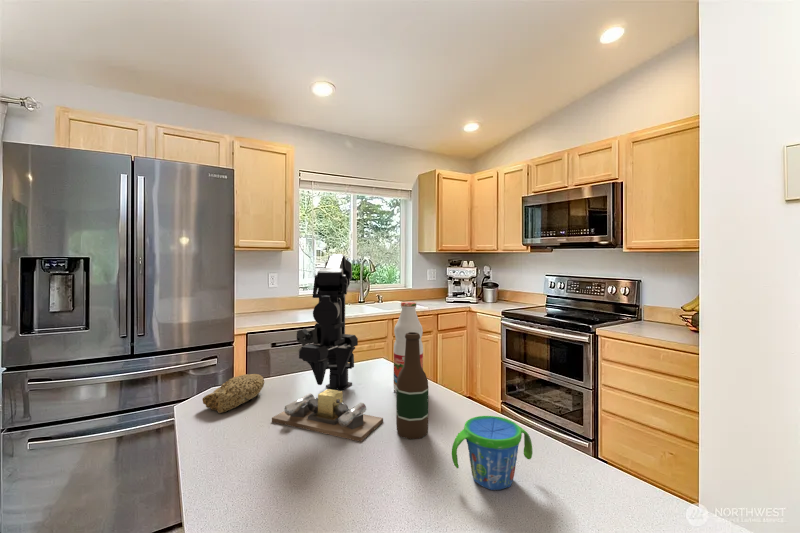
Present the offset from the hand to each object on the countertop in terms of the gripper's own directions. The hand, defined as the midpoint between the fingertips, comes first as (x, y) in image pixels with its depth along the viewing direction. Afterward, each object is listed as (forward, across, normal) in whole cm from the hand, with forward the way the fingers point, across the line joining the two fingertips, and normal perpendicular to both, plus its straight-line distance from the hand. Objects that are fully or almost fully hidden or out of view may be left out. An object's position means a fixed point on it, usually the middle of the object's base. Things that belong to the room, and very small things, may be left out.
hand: (330, 379), depth 97 cm
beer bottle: (+11, -2, +22) cm, 25 cm away
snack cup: (+11, +10, +43) cm, 45 cm away
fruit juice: (+11, -29, +10) cm, 33 cm away
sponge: (+11, -1, -32) cm, 34 cm away
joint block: (+10, 0, 0) cm, 10 cm away
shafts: (+9, +2, 0) cm, 9 cm away
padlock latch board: (+11, +1, 0) cm, 11 cm away
